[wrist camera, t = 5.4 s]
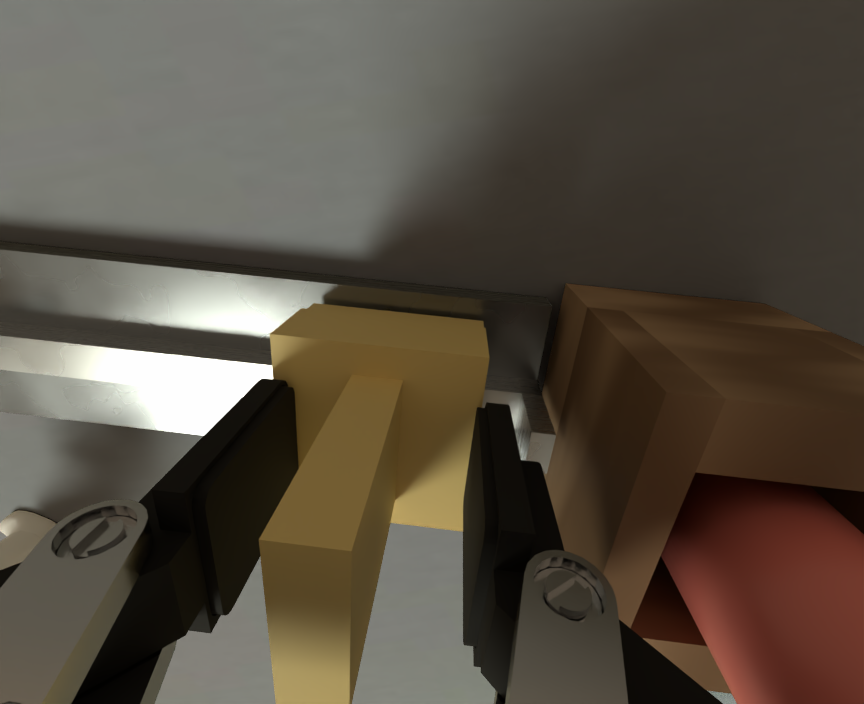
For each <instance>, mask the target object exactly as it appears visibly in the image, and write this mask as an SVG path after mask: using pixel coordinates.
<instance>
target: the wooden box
mask: <svg viewBox="0 0 864 704" xmlns="http://www.w3.org/2000/svg"><path fill="white" fill-rule="evenodd" d="M542 396H543V399H544V402H545V404H546V407H547V410H548V413H549V416H550V419H551V422H552V424H553V427H554V430H555V433H556V438H555V442H554V446H553V450H552V454H551V458H550V463H549V467H548V471H547V474H544V476H545V480H546V484H547V487H548V491H549V495H550V499H551V502H552V506H553V510H554V513H555V517H556V521H557V524H558V528H559V532H560V535H561V539H562V543H563V547H564V550H565V551H566V552H571V553H573V554H575V555H578V556H580V557H583V558H584V559H586V560H587V561H589V562H590V563H592V564H593V565H594V566H596V567H597V568H598V569H599V570H600V571H601V572H602V573H603V575H604V576H605V577H606V578H607V580H608V581H609V583H610V585H611V586H612V588H613V590H614V594H615V597H616V601H617V607H618V616H619V620H621V621H622V622H623V623H624V624H626V625H627V626H628V627H629V628H630V629H632V630H633V631H634V632H635V633H637V634H638V635H639V636H640V637H642V638H643V639H644V640H645V641H646V642H648V643H649V644H650V645H651V646H653V647H654V648H655V649H656V650H657V651H659V652H660V653H661V654H662V655H664V656H665V657H666V658H667V659H669V660H670V661H671V662H672V663H673V664H675V665H676V666H677V667H678V668H680V669H681V670H682V671H683V672H684V673H686V674H687V675H688V676H689V677H691V678H692V679H693V680H694V681H696V682H697V683H698V684H699V685H700V686H702V687H703V688H704V689H705V690H708V691H716V692H724V693H731V691H730V689H729V687H728V685H727V683H726V681H725V679H724V677H723V675H722V673H721V671H720V669H719V668H718V666H717V664H716V662H715V660H714V658H713V656H712V654H711V652H710V650H709V648H708V646H707V644H706V642H705V640H704V638H703V636H702V635H701V633H700V631H699V629H698V627H697V625H696V623H695V621H694V619H693V617H692V615H691V613H690V611H689V609H688V607H687V605H686V603H685V601H684V600H683V598H682V596H681V594H680V592H679V590H678V588H677V586H676V584H675V582H674V580H673V578H672V576H671V574H670V572H669V570H668V568H667V566H666V565H665V563H664V561H663V559H662V557H661V554H662V551H663V549H664V546H665V544H666V542H667V539H668V537H669V534H670V532H671V530H672V527H673V525H674V523H675V520H676V518H677V515H678V513H679V511H680V508H681V506H682V503H683V501H684V499H685V496H686V494H687V491H688V489H689V487H690V484H691V482H692V479H693V477H694V475H695V472H697V473H706V474H714V475H723V476H732V477H740V478H749V479H758V480H766V481H775V482H784V483H792V484H801V485H809V486H811V487H812V488H813V489H814V490H815V491H816V492H817V493H818V494H819V495H821V496H822V497H823V498H824V499H825V500H826V501H827V502H828V503H829V504H831V505H832V506H833V507H834V508H835V509H836V510H837V511H838V512H839V513H841V514H842V515H843V516H844V517H845V518H846V519H847V520H848V521H849V522H851V523H852V524H853V525H854V526H855V527H856V528H857V529H858V530H859V531H860V532H862V533H863V534H864V346H862V345H860V344H857V343H855V342H853V341H850V340H848V339H846V338H843V337H841V336H839V335H836V334H834V333H832V332H829V331H827V330H825V329H823V328H820V327H818V326H816V325H813V324H811V323H809V322H806V321H804V320H802V319H799V318H797V317H795V316H792V315H790V314H788V313H785V312H783V311H781V310H778V309H776V308H774V307H771V306H769V305H767V304H763V303H753V302H743V301H733V300H723V299H714V298H704V297H694V296H684V295H674V294H664V293H655V292H645V291H635V290H625V289H615V288H606V287H596V286H586V285H576V284H565V289H564V293H563V298H562V302H561V307H560V312H559V316H558V321H557V326H556V330H555V335H554V339H553V344H552V349H551V353H550V358H549V363H548V367H547V372H546V376H545V381H544V386H543V390H542ZM731 694H732V693H731Z"/></svg>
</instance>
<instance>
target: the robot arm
mask: <svg viewBox="0 0 864 704" xmlns="http://www.w3.org/2000/svg"><path fill="white" fill-rule="evenodd" d="M298 469H299V466H298V447H297V427H296V408H295V392H294V388H293V387H288V384H287V382H286V381H285V380H275V379H266V378H261V379H260V380H259V381H258V382H257V383H256V384H255V385H254V386H253V387H252V388H251V389H250V390H249V391H248V392H247V393H246V394H245V395H244V396H243V397H242V398H241V399H240V400H239V401H238V402H237V403H236V404H235V405H234V406H233V407H232V408H231V409H230V410H229V411H228V412H227V413H226V414H225V415H224V416H223V417H222V418H221V419H220V420H219V421H218V422H217V423H216V424H215V425H214V426H213V427H212V428H211V429H210V430H209V431H208V432H207V433H206V434H205V435H204V436H203V437H202V438H201V439H200V440H199V441H198V442H197V443H196V444H195V445H194V446H193V447H192V448H191V449H190V450H189V451H188V453H187V454H186V455H185V456H184V457H183V458H182V459H181V460H180V461H179V462H178V463H177V464H176V465H175V466H174V467H173V468H172V469H171V470H170V471H169V472H168V473H167V474H166V475H165V476H164V477H163V478H162V479H161V480H160V481H159V482H158V483H157V484H156V485H155V486H154V487H153V488H152V489H151V490H150V491H149V492H148V493H147V494H146V495H145V496H144V497H143V498H142V499H141V500H140V501H139V502H136V501H133V500H124V499H116V500H109V501H103V502H99V503H96V504H93V505H89V506H87V507H85V508H82V509H80V510H78V511H76V512H74V513H72V514H70V515H69V516H67V517H66V518H64V519H62V520H61V521H59V522H58V523H57V524H56V525H55V526H54V527H53V528H51V529H50V530H49V531H48V532H47V533H46V534H45V536H44V537H43V538H42V539H41V540H40V541H39V543H38V544H37V545H36V546H35V547H34V549H33V550H32V551H31V552H30V553H29V555H28V556H27V557H26V558H25V559H24V560H23V562H21V563H18V564H15V565H13V566H10V567H7V568H5V569H2V570H0V704H155V701H156V698H157V696H158V693H159V690H160V688H161V685H162V682H163V680H164V677H165V674H166V672H167V669H168V666H169V664H170V661H171V658H172V656H173V653H174V650H175V647H176V642H177V640H178V639H180V638H182V637H183V636H185V635H186V634H187V632H188V630H189V631H197V632H205V633H211V632H212V630H213V628H214V626H215V625H216V623H217V621H218V619H219V617H220V616H221V615H227V614H229V612H230V611H231V610H232V608H233V606H234V604H235V603H236V601H237V599H238V597H239V595H240V593H241V591H242V589H243V588H244V586H245V584H246V582H247V580H248V578H249V576H250V574H251V572H252V571H253V569H254V567H255V565H256V563H257V561H258V559H259V557H260V547H259V538H260V536H261V535H262V533H263V531H264V529H265V528H266V526H267V524H268V522H269V521H270V519H271V517H272V515H273V513H274V512H275V510H276V508H277V506H278V505H279V503H280V501H281V499H282V498H283V496H284V494H285V492H286V490H287V489H288V487H289V485H290V483H291V482H292V480H293V478H294V476H295V475H296V473H297V471H298ZM463 642H464V645H467V646H473V652H474V666H476V667H481V673H482V674H483V676H484V677H485V678H486V679H487V680H488V681H489V683H490V684H491V685H492V686H493V687H494V688H495V690H496V692H495V699H494V704H723V703H721V702H720V701H719V700H718V699H716V698H715V697H714V696H713V695H712V694H710V693H709V692H708V691H707V690H705V689H704V688H703V687H702V686H700V685H699V684H698V683H697V682H696V681H694V680H693V679H692V678H691V677H689V676H688V675H687V674H686V673H684V672H683V671H682V670H681V669H680V668H678V667H677V666H676V665H675V664H673V663H672V662H671V661H670V660H669V659H667V658H666V657H665V656H664V655H662V654H661V653H660V652H659V651H657V650H656V649H655V648H654V647H653V646H651V645H650V644H649V643H648V642H646V641H645V640H644V639H643V638H642V637H640V636H639V635H638V634H637V633H635V632H634V631H633V630H632V629H630V628H629V627H628V626H627V625H626V624H624V623H623V622H622V621H621V620H619V616H618V607H617V601H616V597H615V594H614V590H613V588H612V586H611V585H610V583H609V581H608V580H607V578H606V577H605V576H604V575H603V573H602V572H601V571H600V570H599V569H598V568H597V567H596V566H594V565H593V564H592V563H590V562H589V561H587V560H586V559H584V558H583V557H580V556H578V555H575V554H573V553H571V552H566V551H565V550H564V547H563V543H562V539H561V535H560V532H559V528H558V524H557V521H556V517H555V513H554V510H553V506H552V502H551V499H550V495H549V491H548V487H547V484H546V480H545V476H544V473H543V469H542V466H541V464H540V463H539V462H535V461H526V460H521V459H520V454H519V450H518V445H517V440H516V435H515V430H514V425H513V420H512V415H511V410H510V406H509V405H507V404H498V403H489V402H486V405H485V408H481V407H477V410H476V416H475V423H474V430H473V437H472V443H471V450H470V457H469V464H468V471H467V477H466V484H465V491H464V500H463Z"/></svg>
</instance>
